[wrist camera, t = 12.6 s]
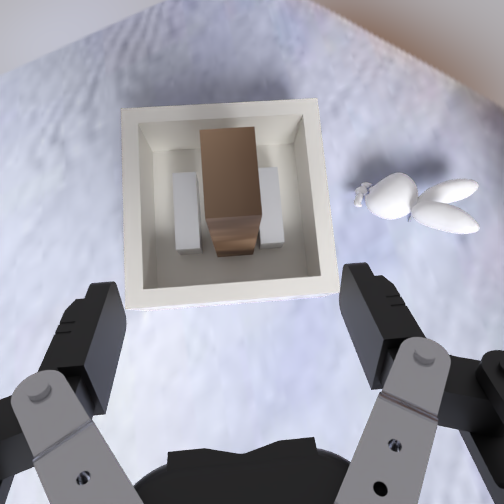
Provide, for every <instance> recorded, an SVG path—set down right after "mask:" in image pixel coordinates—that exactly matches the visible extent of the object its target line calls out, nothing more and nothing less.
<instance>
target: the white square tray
mask: <svg viewBox="0 0 504 504" xmlns="http://www.w3.org/2000/svg"><path fill="white" fill-rule="evenodd" d="M237 127H255V138H256V149H257V161H258V172H259V183H260V194H261V205H262V218H261V223H260V227H259V231H258V236H257V240H256V244H255V248H254V253H253V255H241V256H228V257H217V254H216V251H215V248H214V245H213V242H212V239H211V236H210V232H209V229H208V226H207V223H206V220H205V210H204V194H203V178H202V162H201V147H200V131H199V130H203V129H220V128H237ZM121 141H122V184H123V227H124V270H125V309H130V310H140V311H154V310H167V309H180V308H192V307H205V306H218V305H230V304H243V303H256V302H268V301H281V300H294V299H306V298H319V297H324V296H328V295H332V294H335V293H339V292H340V284H339V276H338V268H337V259H336V251H335V242H334V234H333V226H332V217H331V209H330V200H329V192H328V183H327V175H326V167H325V158H324V150H323V141H322V133H321V125H320V116H319V108H318V99H317V98H310V99H291V100H272V101H253V102H234V103H215V104H197V105H178V106H159V107H140V108H121Z"/></svg>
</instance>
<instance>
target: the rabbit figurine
mask: <svg viewBox="0 0 504 504" xmlns="http://www.w3.org/2000/svg"><path fill="white" fill-rule="evenodd" d="M360 185H361V186H360V187H358V188H357V189H356V190H355V193H356V194H357V195H356V196H355V200H354V205H355V206H356V207H361V206H362V205H361V201H362V199H363V196H364V195H365V202H366V206H367V208H368V210H369V211H370V212H371V213H373V214H374V215H376V216H378V217H380V218H383V219H389V220H393V219H398V218H400V217H403V216H405V215H407V214H409V213H410V212H411V216H410V218H409V221H408V222H410V221H411V220H412V217H413V218H414V219H415V220H416V221H417V222H418V223H420V224H422V225H424V226H427V227H431V228H434V229H437V230H442V231H446V232H449V233H456V234H470V233H474V232H477V231H478V230H479V225H478V223H477V222H476V221H475V220H474V219H473V218H472V217H471V216H470V215H469V214H468V213H466V212H465V211H463V210H462V209H460V208H458V207H455V206H452V205H449V204H447V203H451V202H455V201H460V200H462V199H465V198H467V197H469V196H470V195H471V194H473V193H474V192H475V191H477V189H478V187H479V185H478V183H477V182H475V181H474V180H471V179H469V180H468V179H455V180H449V181H445V182H442V183H440V184H437V185H435V186H433V187H431V188H428V189H427V190H426V191H424V192H423V193H422V194H421V195H420V196H419V197H418V190H417V186H416V184H415V182H414V181H413V180H412V179H411V178H410V177H409V176H408V175H406V174H404V173H393V174H391V175H389V176H387V177H386V178H384V179H382V180H381V181H379V182H378V183H377V184H376V185H375V186H372V187H370V186H371V185H372V184H371V183H368V182H364V183H362V184H360ZM368 187H370V188H369V189H368V190H369V192H370V193H369V194H367V188H368Z"/></svg>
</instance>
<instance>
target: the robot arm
mask: <svg viewBox="0 0 504 504" xmlns="http://www.w3.org/2000/svg"><path fill="white" fill-rule="evenodd" d="M339 305H340V310H341V314H342V316H343V319H344V321H345V324H346V327H347V329H348V332H349V334H350V337H351V339H352V342H353V344H354V347H355V349H356V352H357V355H358V357H359V360H360V362H361V365H362V367H363V370H364V372H365V375H366V377H367V380H368V383H369V385H370V388H371V390H374V389H383V390H382V392H380V393H379V395H378V397H377V400H376V402H375V405H374V407H373V409H372V412H371V414H370V417H369V419H368V422H367V424H366V426H365V429H364V431H363V434H362V436H361V439H360V441H359V444H358V446H357V448H356V451H355V453H354V456H353V458H352V461H351V462H350V461H348V460H346V459H345V458H343V457H341V456H339V455H337V454H335V453H332V452H329V451H326V450H323V449H317V448H316V443H315V439H314V437H310V438H300V439H291V440H281V441H277V442H274V443H271V444H269V445H266V446H264V447H261V448H258V449H256V450H253V451H250V452H248V453H245V454H236V453H230V452H224V451H218V450H212V449H206V448H203V449H193V450H183V451H173V452H168V459H167V464H166V465H163V466H161V467H159V468H157V469H155V470H153V471H152V472H150V473H149V474H147V475H146V476H144V477H143V478H142V479H141V480H139V481H138V482H137V483H136V484H135V485H134V486H133V485H132V484H131V482H130V480H129V479H128V477H127V476H126V474H125V472H124V471H123V469H122V467H121V466H120V464H119V462H118V461H117V459H116V458H115V456H114V454H113V453H112V451H111V449H110V448H109V446H108V444H107V443H106V441H105V440H104V438H103V436H102V435H101V433H100V431H99V430H98V428H97V427H96V425H95V423H94V422H93V421H92V417H93V415H104V414H106V410H107V406H108V401H109V397H110V393H111V389H112V385H113V381H114V377H115V373H116V369H117V365H118V361H119V356H120V352H121V348H122V344H123V340H124V336H125V332H126V315H125V311H124V308H123V304H122V301H121V298H120V295H119V291H118V288H117V285H116V283H115V282H101V283H91V284H90V286H89V288H88V291H87V293H86V296H85V298H84V299H76V300H75V301H74V302H73V303H72V304H71V305H70V306H69V307H68V308H67V309H66V310H65V312H64V314H63V316H62V319H61V321H60V325H58V328H57V330H56V332H55V335H54V337H53V339H52V341H51V343H50V346H49V348H48V350H47V352H46V355H45V357H44V359H43V361H42V363H41V366H40V368H39V370H38V372H37V373H35V374H33V375H31V376H29V377H27V378H26V379H25V380H23V381H22V382H21V383H20V384H19V385H18V386H17V388H16V389H15V390H14V392H13V394H12V395H11V396H9V397H6V398H3V399H1V400H0V504H5V502H6V499H7V496H8V493H9V490H10V487H11V484H12V481H13V478H14V475H15V474H17V473H20V472H22V471H25V470H27V469H30V468H32V467H35V469H36V471H37V474H38V476H39V478H40V481H41V483H42V485H43V488H44V490H45V492H46V495H47V497H48V500H49V502H50V504H418V500H419V496H420V492H421V488H422V484H423V480H424V476H425V472H426V468H427V464H428V460H429V456H430V452H431V448H432V444H433V440H434V437H435V433H436V429H437V425H439V426H444V427H449V428H453V429H458V430H459V432H460V434H461V436H462V438H463V440H464V442H465V444H466V446H467V448H468V450H469V452H470V454H471V456H472V458H473V460H474V462H475V464H476V466H477V468H478V471H479V473H480V475H481V477H482V479H483V481H484V483H485V485H486V487H487V489H488V491H489V493H490V495H491V497H492V499H493V501H494V503H495V504H504V351H501V350H494V351H489V352H487V353H485V354H484V355H483V357H482V359H481V361H479V360H473V359H467V358H461V357H456V356H452V355H449V354H448V352H447V351H446V350H445V349H444V348H443V347H442V346H441V345H440V344H438V343H436V342H435V341H433V340H430V339H427V338H426V337H425V335H424V334H423V332H422V330H421V329H420V327H419V325H418V324H417V322H416V321H415V319H414V317H413V316H412V314H411V312H410V311H409V309H408V307H407V306H405V302H404V301H403V299H402V297H400V294H399V292H398V291H397V289H396V287H395V286H394V284H393V283H391V282H390V281H389V280H387V279H386V278H385V277H384V276H382V275H380V276H374V274H373V273H372V271H371V269H370V267H369V265H368V264H367V263H366V262H364V263H351V264H345V265H344V266H343V272H342V279H341V287H340V294H339Z"/></svg>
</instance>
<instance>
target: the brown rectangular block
mask: <svg viewBox="0 0 504 504" xmlns="http://www.w3.org/2000/svg"><path fill="white" fill-rule="evenodd" d="M199 131H200V147H201V162H202V178H203V194H204V210H205V220H206V223H207V226H208V229H209V232H210V236H211V239H212V242H213V245H214V248H215V251H216V254H217V257H228V256H241V255H253V253H254V248H255V244H256V240H257V236H258V231H259V227H260V223H261V218H262V205H261V194H260V183H259V172H258V161H257V149H256V138H255V127H237V128H220V129H203V130H199Z"/></svg>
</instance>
